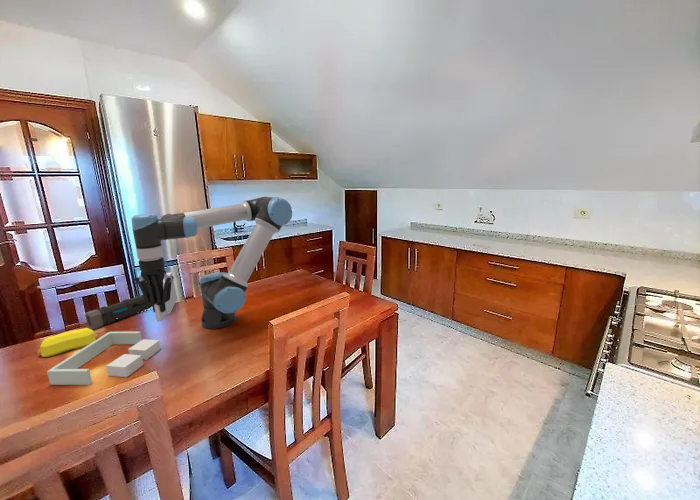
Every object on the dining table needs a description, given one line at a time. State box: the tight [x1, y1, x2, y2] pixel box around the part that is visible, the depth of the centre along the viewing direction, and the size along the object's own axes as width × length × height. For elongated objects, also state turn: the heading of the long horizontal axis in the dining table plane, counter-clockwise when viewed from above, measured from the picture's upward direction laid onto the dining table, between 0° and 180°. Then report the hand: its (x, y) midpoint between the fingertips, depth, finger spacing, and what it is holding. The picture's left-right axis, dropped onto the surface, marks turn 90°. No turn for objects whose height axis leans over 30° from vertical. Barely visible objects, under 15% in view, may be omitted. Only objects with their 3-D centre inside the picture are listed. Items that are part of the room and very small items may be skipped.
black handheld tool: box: [84, 294, 153, 331], centre depth 144 cm, size 11×7×30 cm
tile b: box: [106, 353, 144, 378], centre depth 104 cm, size 7×7×4 cm
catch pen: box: [46, 331, 143, 386], centre depth 109 cm, size 13×25×5 cm, turn 179°
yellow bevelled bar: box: [36, 327, 100, 358], centre depth 117 cm, size 18×7×8 cm
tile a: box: [127, 338, 162, 360], centre depth 114 cm, size 7×7×4 cm
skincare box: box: [163, 272, 178, 316], centre depth 153 cm, size 21×5×16 cm, turn 20°
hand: (161, 319), depth 111 cm, fingers closed
